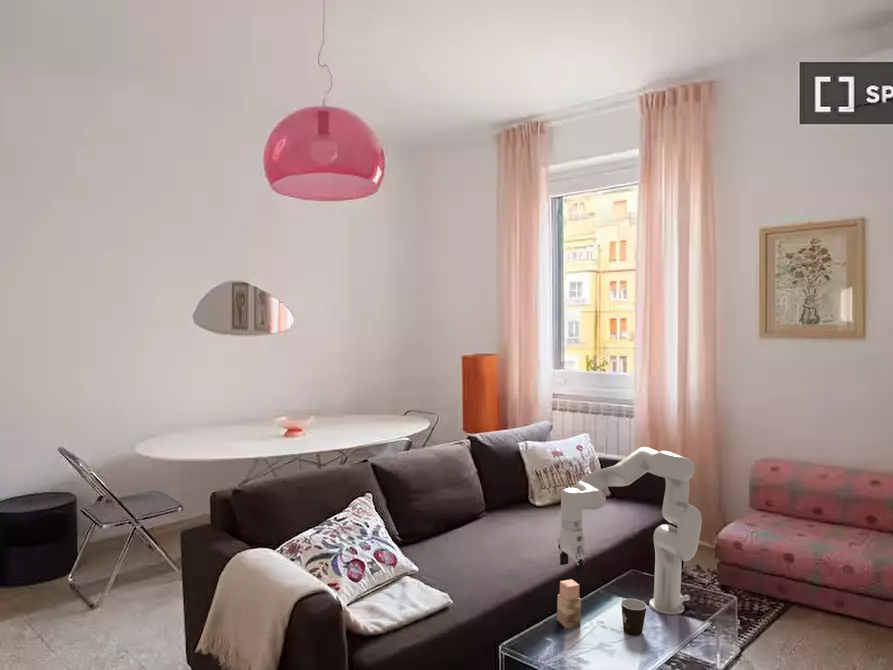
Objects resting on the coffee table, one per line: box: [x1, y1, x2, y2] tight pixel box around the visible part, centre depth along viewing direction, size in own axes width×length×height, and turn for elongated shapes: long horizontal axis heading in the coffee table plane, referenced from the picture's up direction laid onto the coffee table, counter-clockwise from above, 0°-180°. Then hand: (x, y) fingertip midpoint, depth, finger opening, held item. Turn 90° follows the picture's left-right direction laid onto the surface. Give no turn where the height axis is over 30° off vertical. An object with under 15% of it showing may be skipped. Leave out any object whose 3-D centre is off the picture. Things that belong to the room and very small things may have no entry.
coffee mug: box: [620, 598, 648, 637], centre depth 238 cm, size 12×9×10 cm
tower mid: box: [556, 593, 582, 615], centre depth 241 cm, size 6×6×5 cm
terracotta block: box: [559, 578, 580, 601], centre depth 241 cm, size 5×5×5 cm
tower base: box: [556, 608, 581, 630], centre depth 242 cm, size 6×6×5 cm
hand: (571, 569), depth 241 cm, fingers open, 9 cm apart
